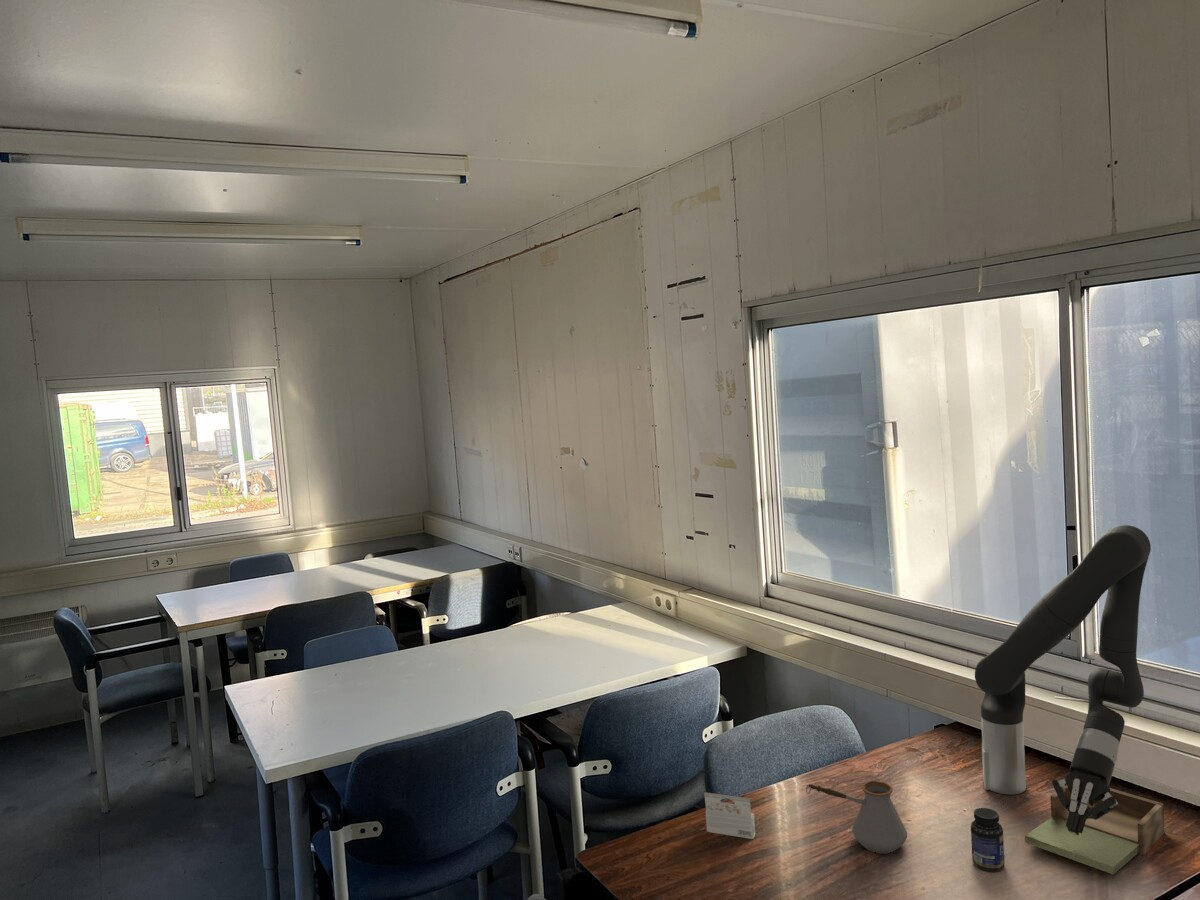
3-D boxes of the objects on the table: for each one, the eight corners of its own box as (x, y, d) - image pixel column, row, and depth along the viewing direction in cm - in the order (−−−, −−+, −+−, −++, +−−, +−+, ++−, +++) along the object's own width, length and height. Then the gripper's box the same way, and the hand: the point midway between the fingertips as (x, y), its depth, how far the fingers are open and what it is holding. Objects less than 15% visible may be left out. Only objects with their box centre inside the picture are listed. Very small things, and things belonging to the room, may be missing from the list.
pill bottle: (1008, 873, 172) (1006, 821, 171) (976, 872, 174) (973, 820, 173) (1000, 856, 178) (998, 806, 177) (969, 855, 180) (967, 805, 179)
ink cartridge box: (709, 827, 199) (706, 787, 198) (756, 834, 194) (753, 793, 193) (706, 832, 197) (703, 792, 196) (753, 840, 192) (750, 798, 191)
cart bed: (1074, 804, 197) (1073, 777, 196) (1164, 832, 182) (1163, 803, 182) (1051, 824, 189) (1050, 796, 189) (1143, 855, 175) (1142, 825, 174)
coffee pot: (895, 828, 192) (892, 764, 191) (916, 855, 181) (913, 788, 180) (802, 836, 192) (798, 772, 190) (817, 865, 180) (813, 797, 179)
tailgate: (1053, 815, 188) (1024, 835, 180) (1140, 844, 175) (1113, 867, 166) (1053, 822, 188) (1024, 842, 180) (1140, 851, 175) (1113, 874, 166)
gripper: (1057, 739, 185) (1033, 814, 178) (1124, 756, 174) (1102, 837, 168) (1068, 754, 188) (1045, 829, 182) (1135, 772, 178) (1113, 852, 171)
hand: (1072, 832), depth 175 cm, fingers closed
